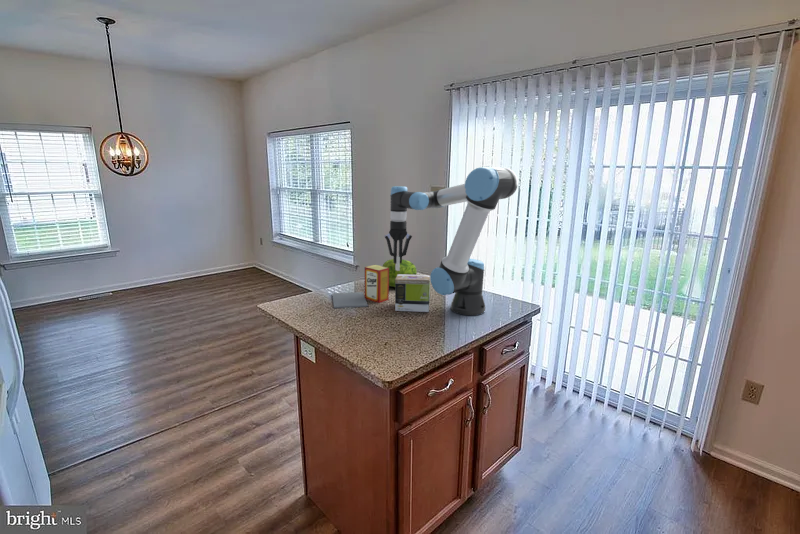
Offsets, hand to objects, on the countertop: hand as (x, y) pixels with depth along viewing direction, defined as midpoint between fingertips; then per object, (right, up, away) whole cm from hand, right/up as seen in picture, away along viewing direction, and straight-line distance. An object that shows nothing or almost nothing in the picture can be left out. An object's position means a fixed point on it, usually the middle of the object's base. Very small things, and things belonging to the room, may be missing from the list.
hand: (397, 270), depth 187 cm
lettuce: (+1, -9, +24) cm, 26 cm away
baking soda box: (-10, -14, +1) cm, 17 cm away
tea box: (+7, -17, -10) cm, 21 cm away
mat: (-23, -14, -2) cm, 27 cm away
